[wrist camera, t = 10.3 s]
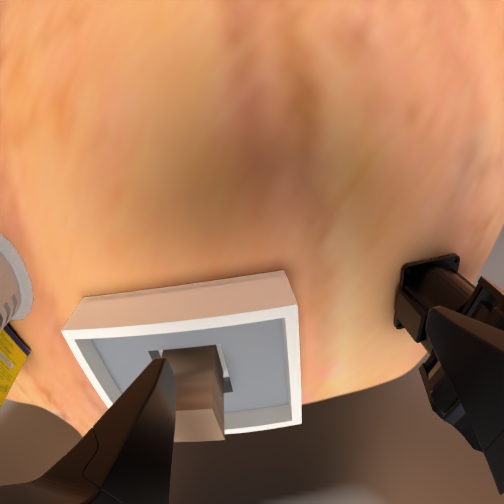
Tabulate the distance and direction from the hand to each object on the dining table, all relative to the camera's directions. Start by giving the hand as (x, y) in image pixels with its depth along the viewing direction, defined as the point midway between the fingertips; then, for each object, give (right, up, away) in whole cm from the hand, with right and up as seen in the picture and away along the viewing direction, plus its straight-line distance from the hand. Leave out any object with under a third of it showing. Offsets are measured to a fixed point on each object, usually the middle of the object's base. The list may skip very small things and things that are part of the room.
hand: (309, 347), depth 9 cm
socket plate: (-7, -5, +15) cm, 17 cm away
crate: (-7, -5, +15) cm, 17 cm away
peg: (-6, -6, +14) cm, 17 cm away
